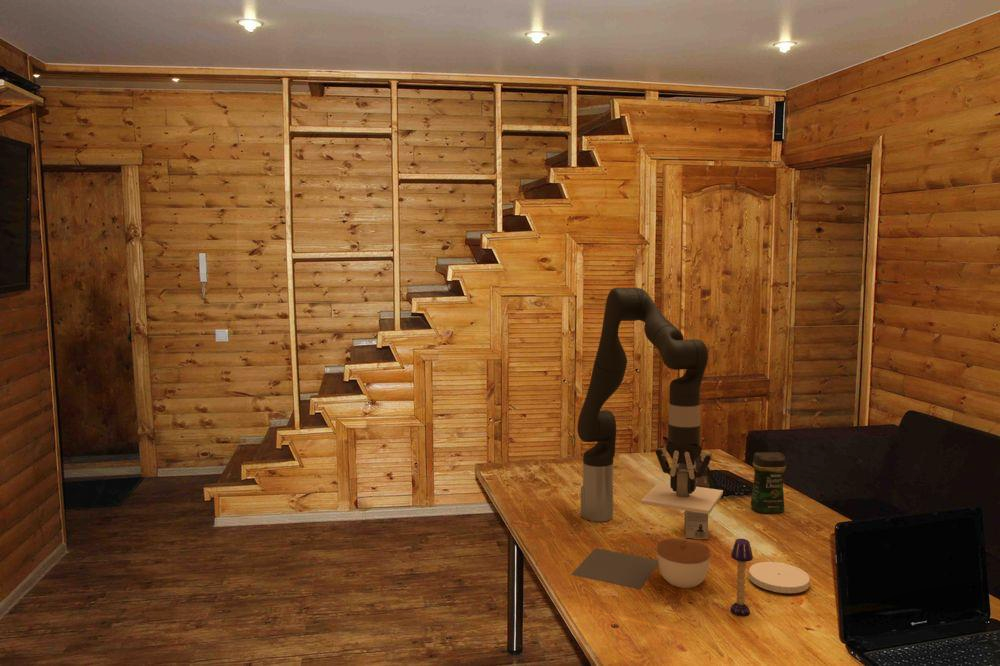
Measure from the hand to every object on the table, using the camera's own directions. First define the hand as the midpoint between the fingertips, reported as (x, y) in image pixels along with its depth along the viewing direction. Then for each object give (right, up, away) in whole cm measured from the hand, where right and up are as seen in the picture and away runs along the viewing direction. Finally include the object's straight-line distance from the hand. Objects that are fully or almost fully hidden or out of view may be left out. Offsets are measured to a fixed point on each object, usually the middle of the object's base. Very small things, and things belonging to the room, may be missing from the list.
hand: (683, 491), depth 174 cm
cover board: (0, -2, 0) cm, 2 cm away
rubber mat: (-15, -23, +10) cm, 29 cm away
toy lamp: (+10, -25, -11) cm, 29 cm away
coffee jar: (+40, -18, +52) cm, 68 cm away
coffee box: (+12, -20, +34) cm, 41 cm away
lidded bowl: (+1, -23, +3) cm, 24 cm away
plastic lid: (+24, -24, +3) cm, 34 cm away
